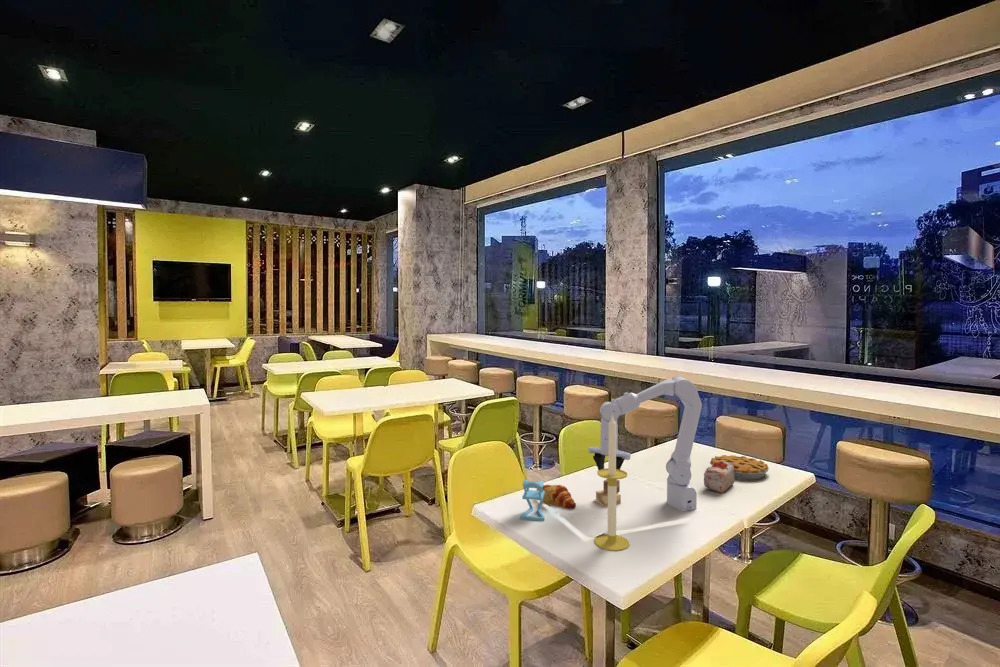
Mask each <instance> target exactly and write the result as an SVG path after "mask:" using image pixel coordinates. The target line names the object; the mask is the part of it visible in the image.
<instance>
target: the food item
mask: <svg viewBox="0 0 1000 667" xmlns="http://www.w3.org/2000/svg"><path fill="white" fill-rule="evenodd" d="M734 484H735V478H734V466H733V465H732V464H729V463H727V462H714V461H713V466H712V465H711V467H710V466H708V467H707V468H705V471H704V473H703V485H704V487H705V488H706V489H707V490H710V491H712V492H716V493H719V494H724V492H725V491H726V490H728V489H729V488H730V487H732V485H734Z"/></svg>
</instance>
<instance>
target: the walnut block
mask: <svg viewBox="0 0 1000 667" xmlns="http://www.w3.org/2000/svg"><path fill="white" fill-rule="evenodd" d="M620 480H621V479H617V493H618V494H619V493H620V490H621V489H620V488H621V486H620V482H621V481H620ZM603 490H604V493H608V479H607V478H605V479H604V480H603Z"/></svg>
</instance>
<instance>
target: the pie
mask: <svg viewBox="0 0 1000 667" xmlns="http://www.w3.org/2000/svg"><path fill="white" fill-rule="evenodd" d="M713 461H714V462H727V463H729V464H732V465H733V466H734V479H736V480H745V481H754V480H760V479H762V478H764V477H765V475H766V473H768V471H769V469H770V468H769V466H768V464H767V463H765V462H764V461H762V460H757V459H756V458H752V457H751V458H749V457H746V456H744V455H742V456H736V455H731V454H730V455H726V454H721V456H718V455H717V456H716V455H715V456H714V457H711V460H710V461H709V464H710V465H711V467H712V466H713Z"/></svg>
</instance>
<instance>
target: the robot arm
mask: <svg viewBox="0 0 1000 667" xmlns="http://www.w3.org/2000/svg"><path fill="white" fill-rule="evenodd" d="M698 392H699V391H698V387H697V386H696V385H695V384H694V383H693V381H691V380H689V379H686V378H685V377H684V376H680V375H675V376H673V377H672V378H668V379H665V380H662V381H661V382H658V383H657V384H654V385H653V386H651V387H648V388H646V389H644V390H642V391H640V392H638V393H634V392H629V393H628V391H627V392H624V393H623V395H622V396H619V397H618V398H615V399H614V398H612V399H611V401H604V402H603V403H601V405H600V408H599V413H600V415H601V417H600V447H599V446H588V448H587V449H588V451H587V452H588V454H594V455H593V456H592V459H593V461H594V462H595V465H596V466H597V469H598V470H597V471H599V470H601V469H605V462H606V461H605V459H606V457H609V422H610V420H611V417H612V414H613V418H614V421H615V422H616V469H619V470H621V468H622V466H623V463H624V461H629V460H630V459H631V453H630V452H626V451H622V450H620V449H618V445H619V444H618V440H619V439H618V437H619V435H618V431H619V430H618V428H619V425H618V418H619V416H623V415H626V414H628V413H631V412H632V411H635V410H636V409H639V408H640V406H641V404H642V403H645V402H647V401H650V400H651V399H655V398H657V397H660V396H663V395H665V396H671V397H674V396H676V397H678V399H679V400H680V401H681V403H682V404H683V405H684V410H683V413H682V417H681V422H680V426H679V431H678V434H677V437H676V438H677V439H676V443H675V448H674V450H673V452H672V453H671V456H670V457H669V460H668V461H667V462H666V465H665V470H666V472H667V474H668V477H667V478H666V504H667V506H670V507H672V508H675V509H678V510H679V511H681V512H684V511H685V512H686V511H687V512H688V511H692V510H697V501H698V500H697V497H698V496H697V490H696V489H695V488H694V487H693V486H692V485H691V483H690V482H691V480H692V472H691V468H692V460H691V454H692V450H693V445H694V442H695V437H696V433H697V428H698V424H699V420H700V416H701V412H702V408H703V402H702V400H701V398H700V395H699V393H698Z"/></svg>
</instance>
